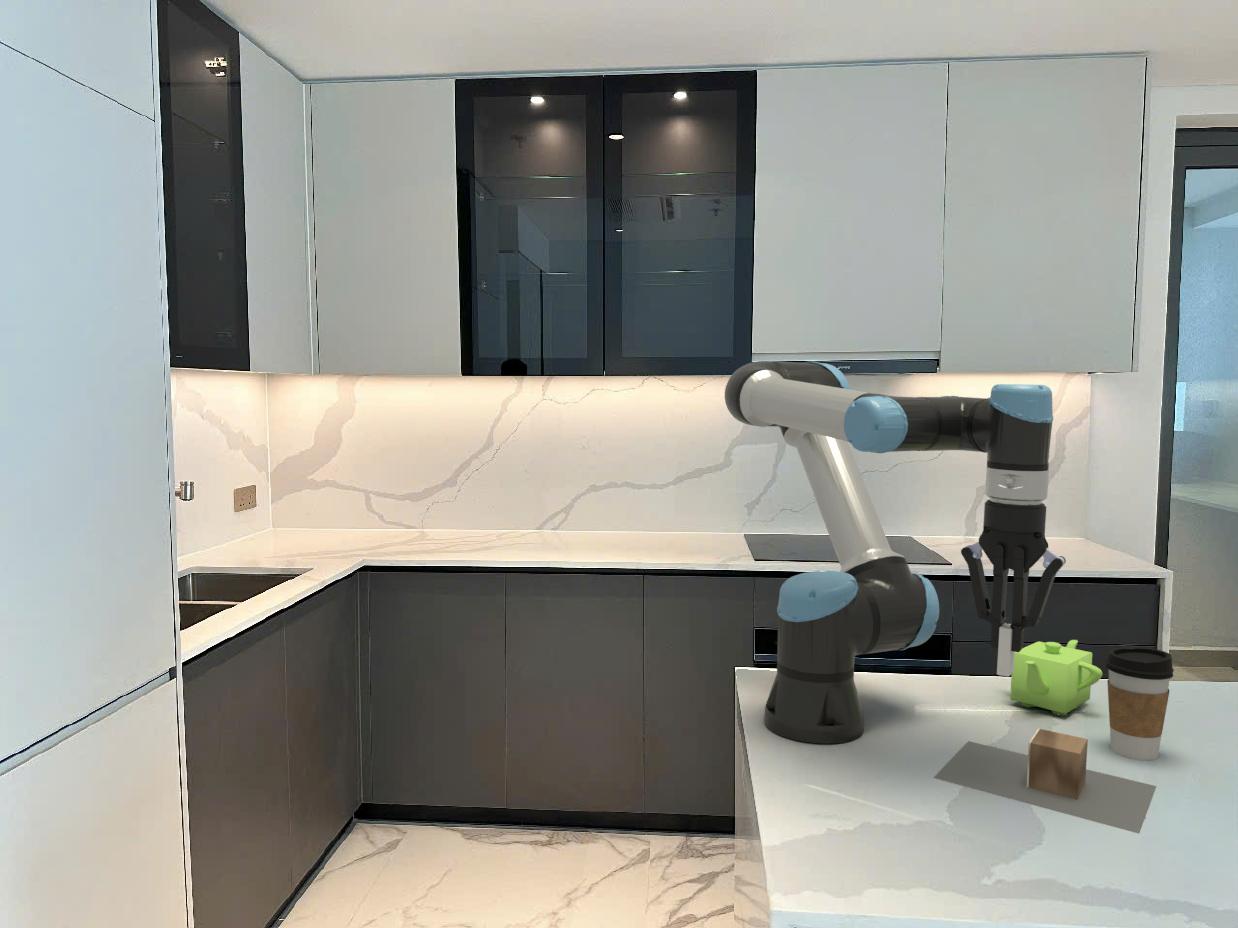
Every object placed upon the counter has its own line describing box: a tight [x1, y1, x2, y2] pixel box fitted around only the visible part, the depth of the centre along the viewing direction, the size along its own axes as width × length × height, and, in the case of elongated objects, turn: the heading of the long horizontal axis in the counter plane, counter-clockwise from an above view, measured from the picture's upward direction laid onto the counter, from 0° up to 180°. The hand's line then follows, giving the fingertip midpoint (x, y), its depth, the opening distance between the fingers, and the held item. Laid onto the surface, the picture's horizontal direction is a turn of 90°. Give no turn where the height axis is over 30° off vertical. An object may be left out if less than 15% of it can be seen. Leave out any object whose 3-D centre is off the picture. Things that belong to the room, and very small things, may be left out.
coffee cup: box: [1105, 647, 1175, 761], centre depth 127 cm, size 8×8×15 cm
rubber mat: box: [933, 740, 1157, 835], centre depth 117 cm, size 24×16×1 cm, turn 53°
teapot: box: [1009, 639, 1103, 716], centre depth 147 cm, size 15×13×11 cm
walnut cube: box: [1027, 728, 1089, 800], centre depth 116 cm, size 6×6×6 cm
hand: (1005, 672), depth 120 cm, fingers closed
